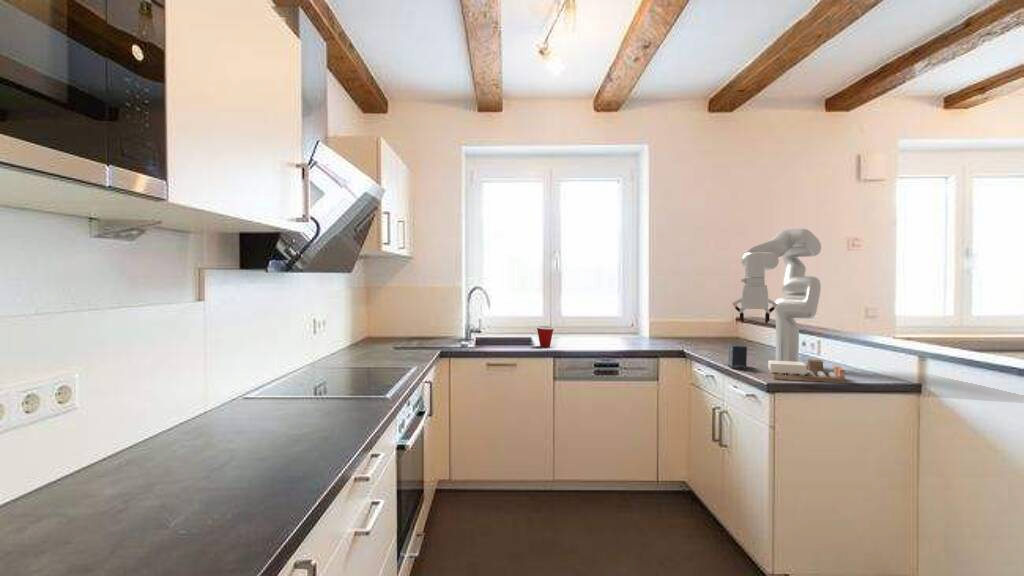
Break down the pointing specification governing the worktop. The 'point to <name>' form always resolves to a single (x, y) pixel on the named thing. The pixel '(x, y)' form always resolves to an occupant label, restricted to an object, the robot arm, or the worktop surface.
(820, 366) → the walnut block
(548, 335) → the plastic cup
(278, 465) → the worktop surface
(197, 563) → the worktop surface
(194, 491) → the worktop surface
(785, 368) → the slab
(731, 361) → the small box
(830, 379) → the roller bed
